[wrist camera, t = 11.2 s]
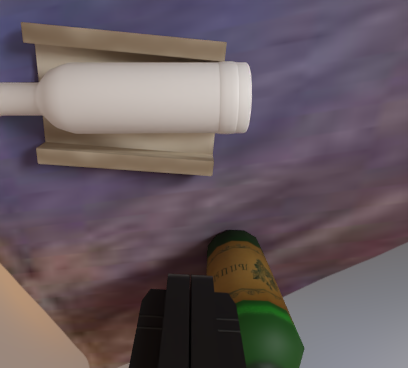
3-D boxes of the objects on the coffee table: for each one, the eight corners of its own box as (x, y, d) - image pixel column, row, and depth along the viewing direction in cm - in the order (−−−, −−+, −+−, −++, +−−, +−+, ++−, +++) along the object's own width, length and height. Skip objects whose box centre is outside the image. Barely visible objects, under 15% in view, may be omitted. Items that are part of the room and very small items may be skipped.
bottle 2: (262, 216, 49) (339, 407, 24) (270, 271, 53) (342, 484, 28) (193, 228, 50) (195, 429, 24) (206, 283, 54) (219, 502, 28)
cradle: (35, 23, 38) (20, 22, 35) (223, 42, 39) (226, 42, 36) (49, 154, 44) (37, 163, 41) (210, 166, 46) (212, 176, 42)
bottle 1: (244, 146, 39) (-9, 148, 38) (239, 95, 43) (7, 96, 42) (254, 102, 32) (-57, 103, 31) (248, 45, 35) (-32, 45, 35)
